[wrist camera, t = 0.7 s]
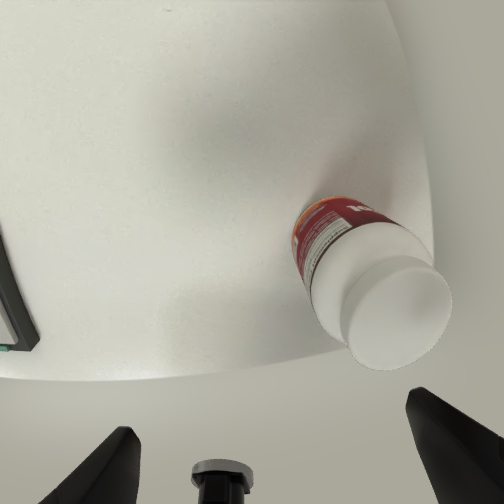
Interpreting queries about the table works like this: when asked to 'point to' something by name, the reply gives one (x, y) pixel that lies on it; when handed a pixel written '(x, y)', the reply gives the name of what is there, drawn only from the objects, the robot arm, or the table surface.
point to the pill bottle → (370, 283)
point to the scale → (13, 312)
